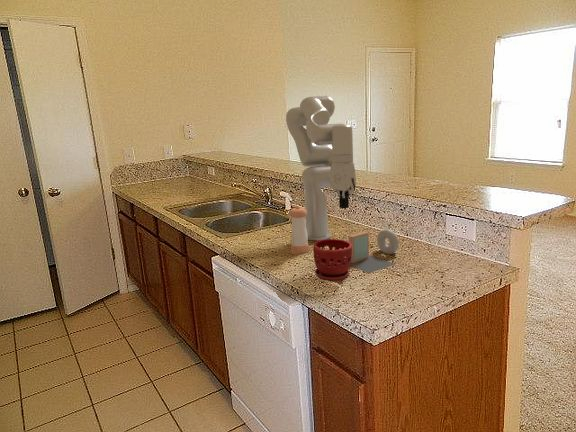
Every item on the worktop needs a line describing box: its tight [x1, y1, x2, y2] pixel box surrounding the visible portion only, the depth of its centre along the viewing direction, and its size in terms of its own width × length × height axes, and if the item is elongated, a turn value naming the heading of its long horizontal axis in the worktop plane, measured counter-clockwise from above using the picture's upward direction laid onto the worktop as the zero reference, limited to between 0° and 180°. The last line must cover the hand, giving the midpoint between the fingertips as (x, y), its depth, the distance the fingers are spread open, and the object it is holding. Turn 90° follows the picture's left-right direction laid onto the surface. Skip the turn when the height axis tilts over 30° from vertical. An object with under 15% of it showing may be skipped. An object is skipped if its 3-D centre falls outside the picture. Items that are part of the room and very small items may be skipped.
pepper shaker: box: [288, 205, 310, 256], centre depth 176 cm, size 7×7×19 cm
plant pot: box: [312, 238, 352, 282], centre depth 150 cm, size 13×13×12 cm
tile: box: [348, 231, 370, 263], centre depth 163 cm, size 2×8×10 cm, turn 124°
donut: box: [376, 228, 400, 255], centre depth 170 cm, size 10×4×10 cm, turn 35°
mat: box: [349, 254, 396, 274], centre depth 161 cm, size 16×13×1 cm
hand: (344, 207), depth 166 cm, fingers closed
